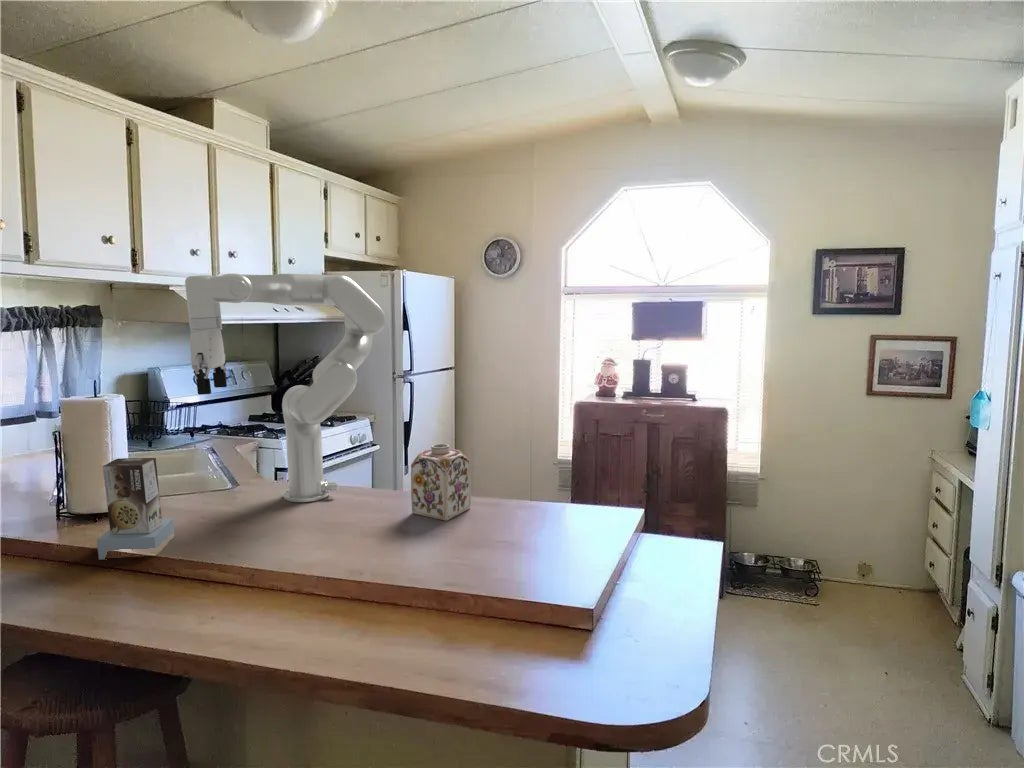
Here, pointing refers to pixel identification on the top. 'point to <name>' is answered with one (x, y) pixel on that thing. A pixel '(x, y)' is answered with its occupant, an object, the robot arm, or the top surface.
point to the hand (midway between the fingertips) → (212, 390)
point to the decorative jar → (440, 483)
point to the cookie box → (132, 495)
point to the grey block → (135, 539)
